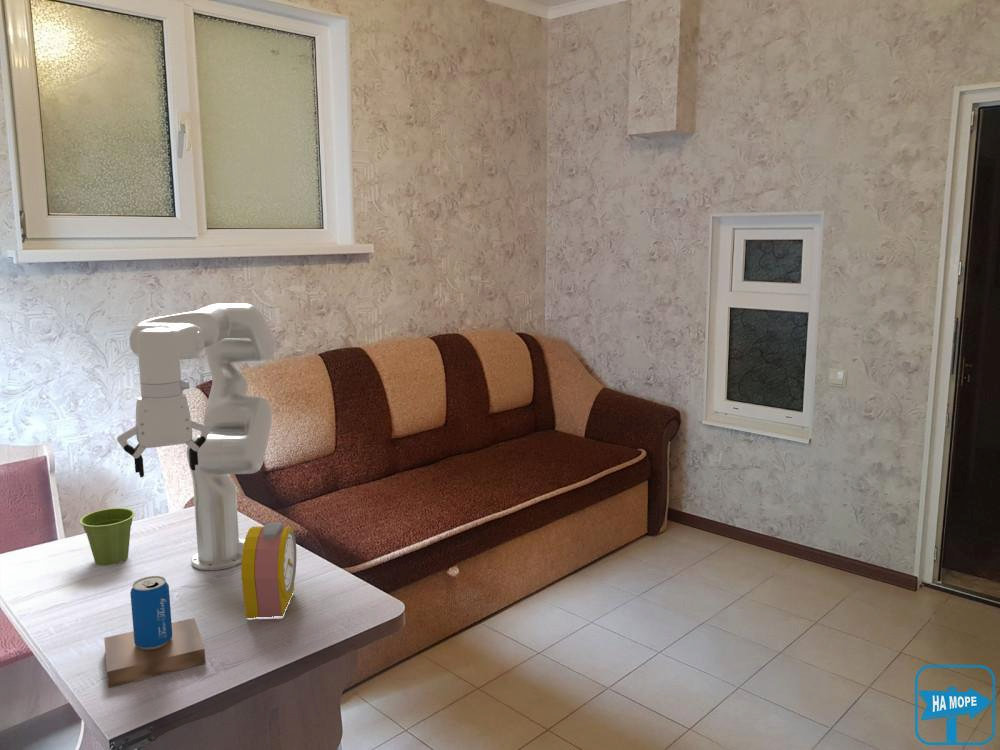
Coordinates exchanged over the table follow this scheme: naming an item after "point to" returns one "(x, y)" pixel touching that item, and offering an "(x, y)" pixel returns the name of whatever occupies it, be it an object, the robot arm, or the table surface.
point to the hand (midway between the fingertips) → (167, 472)
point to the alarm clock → (268, 569)
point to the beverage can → (151, 612)
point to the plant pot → (108, 534)
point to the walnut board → (153, 654)
